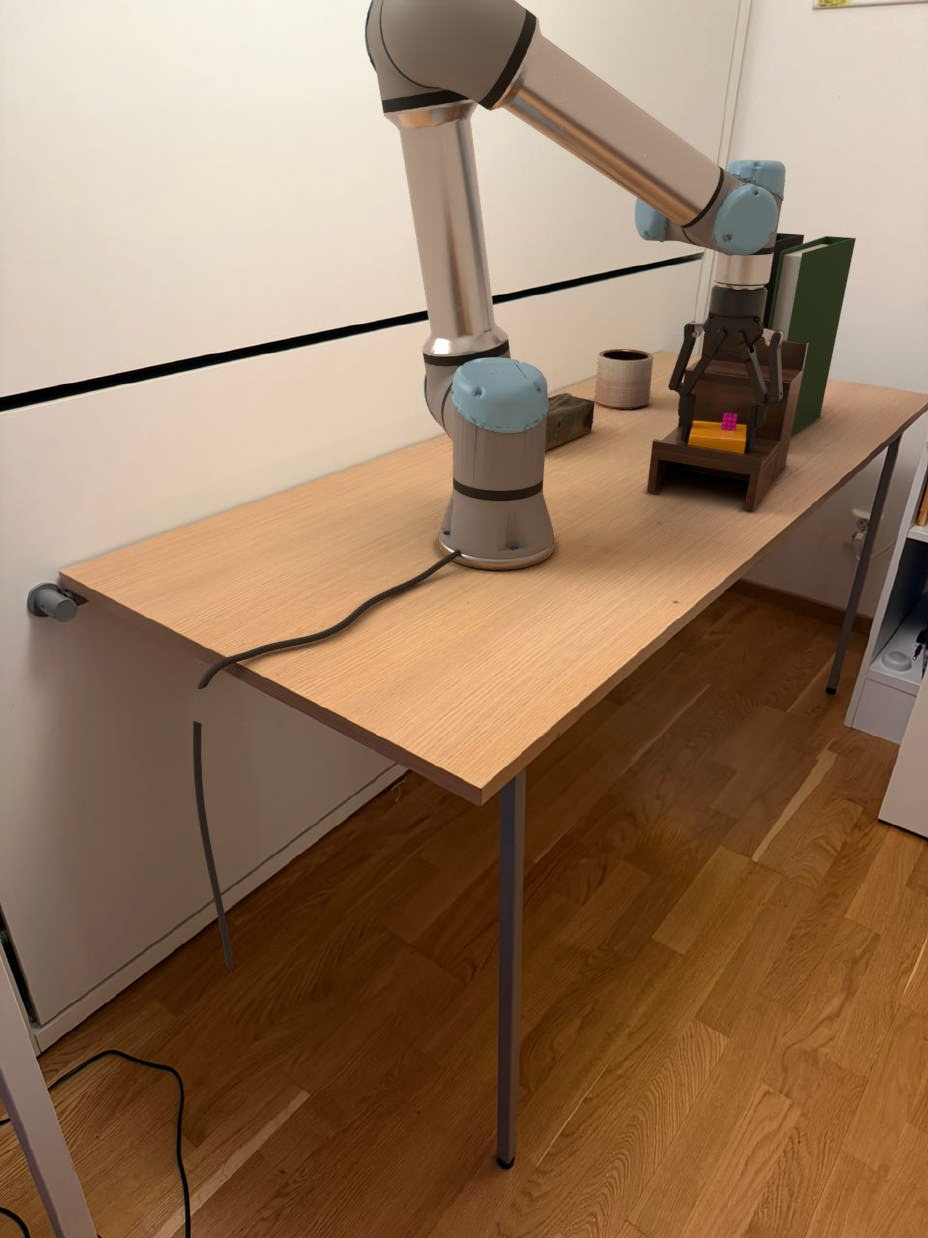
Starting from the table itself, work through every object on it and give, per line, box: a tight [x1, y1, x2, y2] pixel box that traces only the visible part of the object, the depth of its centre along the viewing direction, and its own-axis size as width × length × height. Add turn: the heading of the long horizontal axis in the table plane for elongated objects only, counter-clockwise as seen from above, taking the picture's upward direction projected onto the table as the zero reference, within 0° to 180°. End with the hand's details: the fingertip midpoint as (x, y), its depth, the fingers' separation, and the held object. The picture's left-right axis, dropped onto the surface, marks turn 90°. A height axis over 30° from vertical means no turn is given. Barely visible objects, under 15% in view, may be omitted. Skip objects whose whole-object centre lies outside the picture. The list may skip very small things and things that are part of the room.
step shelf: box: [646, 332, 808, 513], centre depth 137 cm, size 23×16×20 cm
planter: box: [594, 348, 654, 410], centre depth 178 cm, size 11×11×10 cm
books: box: [761, 232, 856, 438], centre depth 159 cm, size 27×15×32 cm, turn 145°
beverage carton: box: [545, 392, 596, 451], centre depth 157 cm, size 8×19×7 cm, turn 140°
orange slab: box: [688, 413, 747, 453], centre depth 134 cm, size 8×8×4 cm
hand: (716, 442), depth 135 cm, fingers closed on orange slab, 9 cm apart
